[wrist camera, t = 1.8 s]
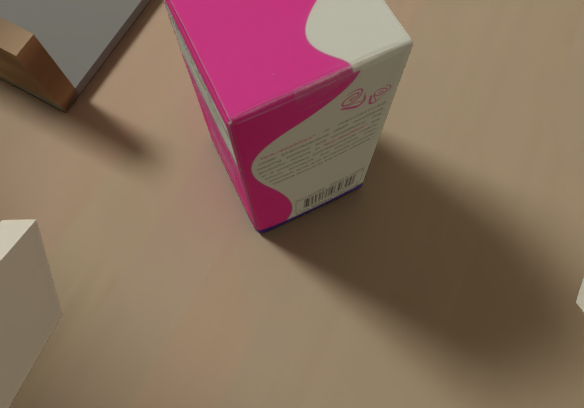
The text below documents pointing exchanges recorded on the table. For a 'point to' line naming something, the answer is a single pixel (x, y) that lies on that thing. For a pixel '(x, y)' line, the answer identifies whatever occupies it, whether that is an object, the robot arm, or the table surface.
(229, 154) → the supplement box
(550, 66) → the table surface
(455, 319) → the table surface
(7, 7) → the grey mat
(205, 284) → the table surface
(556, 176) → the table surface
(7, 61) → the walnut corner walls
